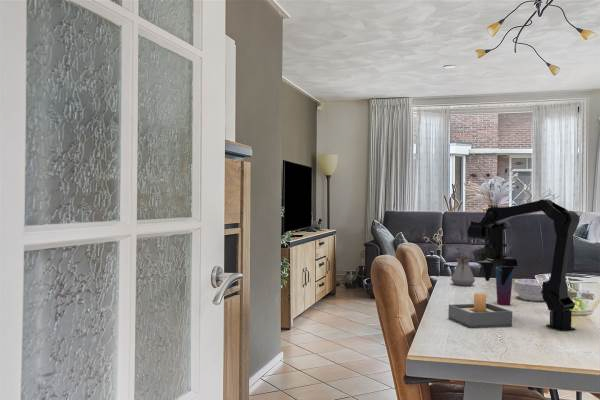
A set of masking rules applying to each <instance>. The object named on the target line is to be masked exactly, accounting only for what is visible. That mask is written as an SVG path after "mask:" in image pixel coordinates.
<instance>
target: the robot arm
mask: <svg viewBox="0 0 600 400" xmlns="http://www.w3.org/2000/svg"><path fill="white" fill-rule="evenodd" d="M540 212H541V213H542V212H543V214H545V215H546V216H547V217H548V218H549V219H551V221H553V229H554V233H555V243H554V251H553V257H552V263H551V271H550V276H549V279H548V280H544V281H545V282H543V284H542V291H541V294H542V293H543V294H542V297H543V300H544V303H545V304H546V307H547V310H549V311H550V312H549V323H548V324H547V323H546V325H545V326H546V327H548V328H551V329H554V330H557V331H575V330H576V327H573V326H572V313H573V312H572V311H571V310H574V308H575V305H576V303H575V302H574V301H573V299H571V297H569V291H568V284H567V280H566V278H567V277H566V275H567V271H568V270H567V269H568V262H569V258H570V257H569V256H570V250H571V245H572V244H571V243H572V238H573V236H574V235H575V233H576V231H577V228H578V226H579V224H580V216H579V214H578V213H577V212H576V211H574V210H568V209H567V208H565V207H563V206H561V205H559V204H557V203H555V202H554V201H552V200H551V199H549V198H547V199H545V198H543V199H540V200H536V201H532V202H531V201H530V202H526V203H520V204H516V205H513V206H512V205H511V206H491V207H488V208H487V209H486V211H485V215H484V216H483V218H482V219H481V220H480V221H476V220H475V221H470V225H468V228H467V232H466V233H467V237H468V238H469V239H470V240H481V241H485V240H486V239H487V242H485V243H484V246H483V247H481V248H479V249H476V250H474V251H472V255H473V259H474V261H476V264H478V265H479V266H480V267H481V270H482V272H483V276H484V279H485V281H486V282H489V281H490V279H491V275H492V271H493V267H494V264H495V263H497V266H496V267H498V269H499V270H500V281H501V285H504V284H505V282H506V280H507V279H508V277H509V275H510V273H511V272H512V270H513V271H514V269H516V267H518V266H519V260H518V259H517V258H516V257H511V256H510V257H509V256H508V257H507V255H506V254H505V248H506V247H507V243H505V230H510V229H511V227H510V226H509V225H508V224H507V223H506V221H509V220H512V219H513V218H515V217H520V216H524V215H530V214H535V213H540ZM499 223H500V224H499ZM491 225H492V226H491Z"/></svg>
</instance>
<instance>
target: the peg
mask: <svg viewBox="0 0 600 400" xmlns="http://www.w3.org/2000/svg"><path fill="white" fill-rule="evenodd" d="M473 304H474V312H486V304H487V294H486V293H479V292H476V293H474V294H473Z"/></svg>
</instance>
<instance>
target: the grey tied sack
mask: <svg viewBox="0 0 600 400" xmlns="http://www.w3.org/2000/svg"><path fill="white" fill-rule="evenodd" d="M455 260H456V263H457V264H456V267H455V269H454V272H453V274H452V276H451V278H450V280H451V282H452V283H453V284H454V285H455V286H458V287H470V286H472V285H473V284H474V283H475V277H474V274H473V272H472V270H471V267H470V264H469V263H470V261H471V260H470V259H465V258H463V257H462V258H457V259H456V258H455Z"/></svg>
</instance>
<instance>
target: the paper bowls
mask: <svg viewBox="0 0 600 400" xmlns="http://www.w3.org/2000/svg"><path fill="white" fill-rule="evenodd" d="M537 280H538V279H534V278H520V279H519V278H518V279H517V278H516V279H515V280H514V281H513V283H514V286H513V287H514V288H513V289H514V293H516V294H518V296H519V298H520V299H521V300H524V301H528V300H529V301H528V302H543V301H544V300H543V297H542V294H543V293H542V294H541V291H542V288H541V286H540V285H539V284H538V282H537ZM544 302H545V301H544Z"/></svg>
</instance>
